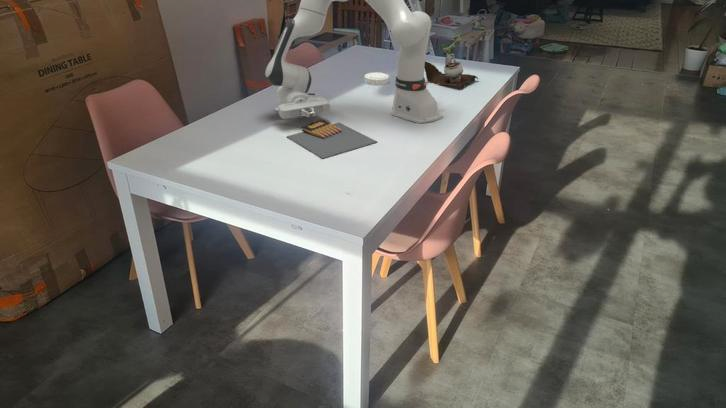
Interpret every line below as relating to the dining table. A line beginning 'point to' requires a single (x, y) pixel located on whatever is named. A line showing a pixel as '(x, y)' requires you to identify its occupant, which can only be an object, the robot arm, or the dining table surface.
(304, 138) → the slate mat
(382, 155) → the dining table surface
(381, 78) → the mooncake
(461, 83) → the potted plant
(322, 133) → the ammunition clip
